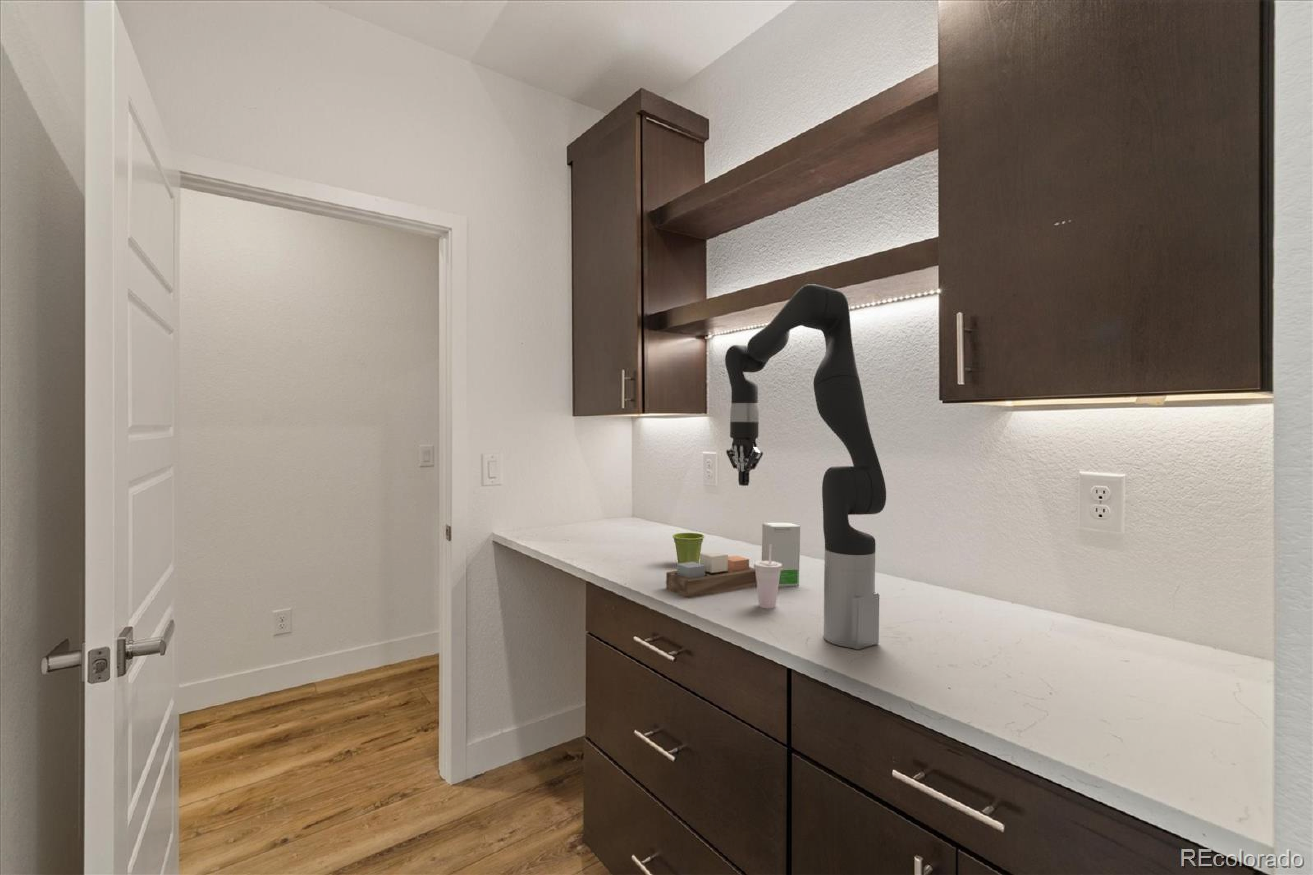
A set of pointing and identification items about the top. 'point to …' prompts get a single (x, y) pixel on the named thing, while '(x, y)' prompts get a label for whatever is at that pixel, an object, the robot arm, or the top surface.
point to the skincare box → (783, 550)
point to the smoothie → (767, 581)
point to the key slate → (690, 570)
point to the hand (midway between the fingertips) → (743, 485)
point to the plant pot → (688, 546)
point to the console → (711, 582)
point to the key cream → (714, 561)
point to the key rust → (737, 563)
